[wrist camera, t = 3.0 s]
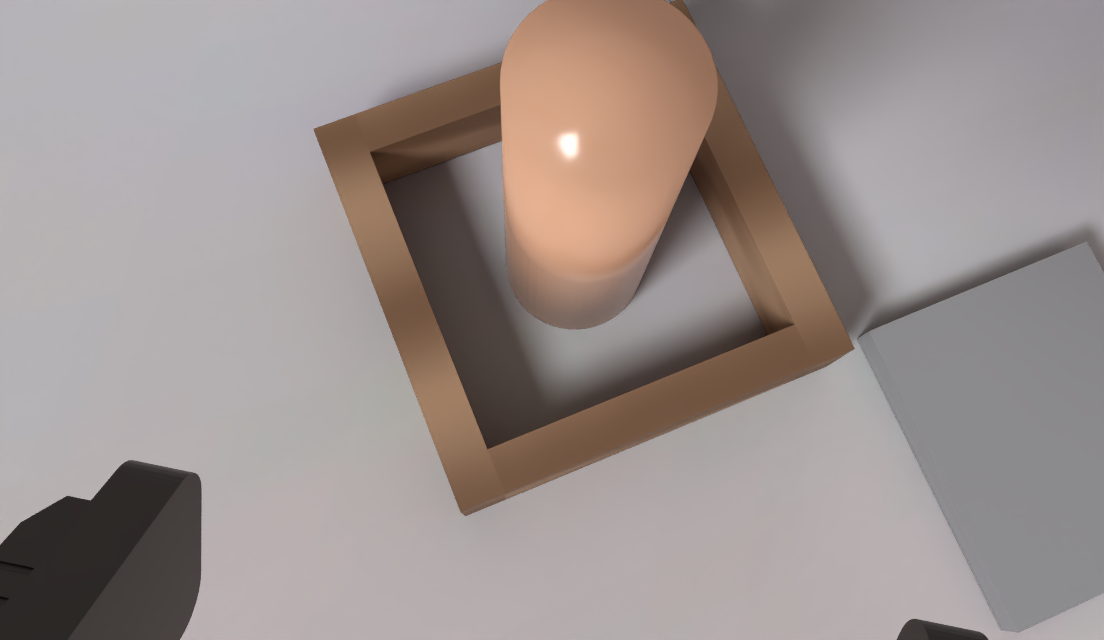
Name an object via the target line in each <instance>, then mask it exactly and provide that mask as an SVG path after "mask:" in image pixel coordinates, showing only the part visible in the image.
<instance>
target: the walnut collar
mask: <svg viewBox="0 0 1104 640" xmlns="http://www.w3.org/2000/svg"><path fill="white" fill-rule="evenodd" d="M670 4H671V5H672V6H674V7H675V8H677V9H678V10H679V11H681V12H682V13H683V14H684V15H685V16H686V17H687V18H688V19H689V20H690V21H691V22H692V23H693V24H694V22H693V19H692V17H691V15H690V13H689V11H688V9H687V7H686V5H685V3H684V1H683V0H676V1H673V2H671V3H670ZM694 26H695V24H694ZM695 27H696V26H695ZM501 66H502V62H501V63H498V64H496V65H493V66H490V67H487V68H484V69H481V70H479V71H476V72H473V73H470V74H467V75H465V76H462V77H459V78H456V79H453V80H450V81H448V82H445V83H442V84H439V85H436V86H433V87H431V88H428V89H425V90H422V91H419V92H417V93H414V94H411V95H408V96H405V97H402V98H400V99H397V100H394V101H391V102H388V103H385V104H383V105H380V106H377V107H374V108H371V109H369V110H366V111H363V112H360V113H357V114H354V115H352V116H349V117H346V118H343V119H340V120H337V121H335V122H332V123H329V124H326V125H323V126H321V127H318V128H315V129H314V132H315V134H316V137H317V140H318V142H319V145H320V147H321V150H322V153H323V155H324V158H325V160H326V163H327V166H328V168H329V171H330V173H331V176H332V179H333V181H334V184H335V186H336V189H337V192H338V194H339V197H340V199H341V202H342V205H343V207H344V210H345V212H346V215H347V218H348V220H349V223H350V225H351V228H352V231H353V233H354V236H355V238H356V241H357V244H358V246H359V249H360V251H361V254H362V257H363V259H364V262H365V264H366V267H367V270H368V272H369V275H370V277H371V280H372V283H373V285H374V288H375V290H376V293H377V296H378V298H379V301H380V303H381V306H382V309H383V311H384V314H385V316H386V319H387V322H388V324H389V327H390V329H391V332H392V335H393V337H394V340H395V342H396V345H397V348H398V350H399V353H400V355H401V358H402V361H403V363H404V366H405V368H406V371H407V374H408V376H409V379H410V381H411V384H412V387H413V389H414V392H415V394H416V397H417V400H418V402H419V405H420V407H421V410H422V413H423V415H424V418H425V421H426V423H427V426H428V428H429V431H430V434H431V436H432V439H433V441H434V444H435V447H436V449H437V452H438V454H439V457H440V460H441V462H442V465H443V467H444V470H445V473H446V475H447V478H448V480H449V483H450V486H451V488H452V491H453V493H454V496H455V499H456V501H457V504H458V506H459V509H460V512H461V513H462V514H464V515H465V516H467V515H469V514H472V513H474V512H476V511H479V510H481V509H484V508H486V507H488V506H491V505H493V504H496V503H498V502H501V501H503V500H505V499H508V498H510V497H513V496H515V495H517V494H520V493H522V492H525V491H527V490H529V489H532V488H534V487H537V486H539V485H542V484H544V483H546V482H549V481H551V480H554V479H556V478H558V477H561V476H563V475H566V474H568V473H570V472H573V471H575V470H578V469H580V468H583V467H585V466H587V465H590V464H592V463H595V462H597V461H599V460H602V459H604V458H607V457H609V456H611V455H614V454H616V453H619V452H621V451H624V450H626V449H628V448H631V447H633V446H636V445H638V444H640V443H643V442H645V441H648V440H650V439H652V438H655V437H657V436H660V435H662V434H665V433H667V432H669V431H672V430H674V429H677V428H679V427H681V426H684V425H686V424H689V423H691V422H693V421H696V420H698V419H701V418H703V417H706V416H708V415H710V414H713V413H715V412H718V411H720V410H722V409H725V408H727V407H730V406H732V405H734V404H737V403H739V402H742V401H744V400H747V399H749V398H751V397H754V396H756V395H759V394H761V393H763V392H766V391H768V390H771V389H773V388H775V387H778V386H780V385H783V384H785V383H788V382H790V381H792V380H795V379H797V378H800V377H802V376H804V375H807V374H809V373H812V372H814V371H817V370H819V369H821V368H824V367H826V366H828V365H830V364H831V363H833V362H834V361H836V360H837V359H839V358H841V357H842V356H844V355H845V354H847V353H849V352H850V351H852V350H853V349H855V348H854V346H853V344H852V342H851V340H850V338H849V336H848V334H847V332H846V330H845V328H844V326H843V324H842V322H841V320H840V318H839V316H838V314H837V312H836V310H835V308H834V306H833V304H832V302H831V300H830V298H829V296H828V293H827V291H826V289H825V287H824V285H823V283H822V281H821V279H820V277H819V275H818V273H817V271H816V269H815V267H814V265H813V263H812V261H811V259H810V257H809V255H808V253H807V251H806V249H805V247H804V245H803V243H802V241H801V239H800V237H799V235H798V233H797V231H796V229H795V227H794V224H793V222H792V220H791V218H790V216H789V214H788V212H787V210H786V208H785V206H784V204H783V202H782V200H781V198H780V196H779V194H778V192H777V190H776V188H775V186H774V184H773V182H772V180H771V178H770V176H769V174H768V172H767V170H766V168H765V166H764V164H763V162H762V160H761V158H760V155H759V153H758V151H757V149H756V147H755V145H754V143H753V141H752V139H751V137H750V135H749V133H748V131H747V129H746V127H745V125H744V123H743V121H742V119H741V117H740V115H739V113H738V111H737V109H736V107H735V105H734V103H733V101H732V99H731V97H730V95H729V93H728V91H727V89H726V86H725V84H724V82H723V80H722V78H721V76H720V74H719V72H718V70H717V68H716V73H717V82H718V94H717V102H716V107H715V111H714V115H713V118H712V120H711V123H710V125H709V127H708V129H707V132H706V134H705V136H704V138H703V141H702V143H701V145H700V148H699V150H698V152H697V154H696V157H695V159H694V161H693V163H692V166H691V168H690V172H691V174H692V176H693V178H694V181H695V183H696V185H697V187H698V189H699V191H700V193H701V195H702V197H703V200H704V202H705V204H706V206H707V208H708V210H709V212H710V214H711V216H712V219H713V221H714V223H715V225H716V227H717V229H718V231H719V233H720V235H721V238H722V240H723V242H724V244H725V246H726V248H727V250H728V252H729V254H730V257H731V259H732V261H733V263H734V265H735V267H736V269H737V271H738V273H739V276H740V278H741V280H742V282H743V284H744V286H745V288H746V290H747V292H748V295H749V297H750V299H751V301H752V303H753V305H754V307H755V309H756V311H757V314H758V316H759V318H760V320H761V322H762V324H763V326H764V328H765V330H766V333H767V336H765V337H762V338H760V339H758V340H755V341H753V342H750V343H748V344H745V345H743V346H740V347H738V348H735V349H733V350H731V351H728V352H726V353H723V354H721V355H718V356H716V357H713V358H711V359H708V360H706V361H703V362H701V363H699V364H696V365H694V366H691V367H689V368H686V369H684V370H681V371H679V372H676V373H674V374H672V375H669V376H667V377H664V378H662V379H659V380H657V381H654V382H652V383H649V384H647V385H644V386H642V387H640V388H637V389H635V390H632V391H630V392H627V393H625V394H622V395H620V396H617V397H615V398H613V399H610V400H608V401H605V402H603V403H600V404H598V405H595V406H593V407H590V408H588V409H585V410H583V411H581V412H578V413H576V414H573V415H571V416H568V417H566V418H563V419H561V420H558V421H556V422H553V423H551V424H549V425H546V426H544V427H541V428H539V429H536V430H534V431H531V432H529V433H526V434H524V435H522V436H519V437H517V438H514V439H512V440H509V441H507V442H504V443H502V444H499V445H497V446H494V447H492V448H490V449H487V447H486V444H485V442H484V439H483V437H482V434H481V432H480V429H479V427H478V424H477V422H476V419H475V417H474V414H473V412H472V409H471V406H470V404H469V401H468V399H467V396H466V394H465V391H464V389H463V386H462V384H461V381H460V379H459V376H458V374H457V371H456V369H455V366H454V364H453V361H452V359H451V356H450V353H449V351H448V348H447V346H446V343H445V341H444V338H443V336H442V333H441V331H440V328H439V326H438V323H437V321H436V318H435V316H434V313H433V311H432V308H431V306H430V303H429V300H428V298H427V295H426V293H425V290H424V288H423V285H422V283H421V280H420V278H419V275H418V273H417V270H416V268H415V265H414V263H413V260H412V258H411V255H410V253H409V250H408V247H407V245H406V242H405V240H404V237H403V235H402V232H401V230H400V227H399V225H398V222H397V220H396V217H395V215H394V212H393V210H392V207H391V205H390V202H389V200H388V197H387V194H386V192H385V189H384V187H383V184H384V183H387V182H390V181H393V180H395V179H398V178H401V177H404V176H406V175H409V174H412V173H415V172H417V171H420V170H423V169H426V168H428V167H431V166H434V165H436V164H439V163H442V162H445V161H447V160H450V159H453V158H456V157H458V156H461V155H464V154H467V153H469V152H472V151H475V150H478V149H480V148H483V147H486V146H489V145H491V144H494V143H497V142H499V141H502V127H501V97H500V73H501ZM715 67H716V66H715Z"/></svg>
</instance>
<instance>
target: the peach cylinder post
mask: <svg viewBox="0 0 1104 640" xmlns="http://www.w3.org/2000/svg"><path fill="white" fill-rule="evenodd" d="M717 94H718V82H717V73H716V67H715V64H714V60H713V57H712V54H711V52H710V50H709V47H708V45H707V43H706V41H705V40H704V38H703V37H702V35H701V33H700V32H699V30H698V29H697V28H696V27H695V26H694V24H693V23H692V22H691V21H690V20H689V19H688V18H687V17H686V16H685V15H684V14H683V13H682V12H681V11H679V10H678V9H677V8H675V7H674V6H672V5H671V4H670V3H668V2H666V1H664V0H547V1H546V2H544V3H543V4H541V5H539V6H538V7H537V8H536V9H535V10H533V11H532V12H531V13H530V14H529V15H528V16H527V17H526V18H525V19H524V20H523V21H522V22H521V23H520V25H519V26H518V28H517V29H516V31H515V32H514V34H513V35H512V37H511V39H510V41H509V43H508V45H507V48H506V51H505V54H504V57H503V61H502V66H501V73H500V97H501V127H502V157H503V187H504V217H505V248H506V269H507V276H508V280H509V284H510V286H511V289H512V291H513V293H514V295H515V296H516V298H517V300H518V301H519V302H520V304H521V305H522V306H523V307H524V308H525V309H526V310H527V311H528V312H529V313H530V314H532V315H533V316H534V317H536V318H537V319H539V320H541V321H542V322H545V323H547V324H549V325H552V326H555V327H559V328H565V329H586V328H591V327H595V326H598V325H600V324H603V323H605V322H607V321H609V320H611V319H612V318H614V317H615V316H616V315H618V314H619V313H620V312H621V311H622V310H623V309H624V308H625V307H626V306H627V305H628V304H629V302H630V301H631V299H632V298H633V296H634V294H635V292H636V290H637V288H638V285H639V283H640V281H641V279H642V276H643V274H644V272H645V270H646V267H647V265H648V263H649V261H650V258H651V256H652V254H653V252H654V249H655V247H656V245H657V242H658V240H659V238H660V236H661V233H662V231H663V229H664V227H665V224H666V222H667V220H668V218H669V215H670V213H671V211H672V209H673V206H674V204H675V202H676V200H677V197H678V195H679V193H680V190H681V188H682V186H683V184H684V181H685V179H686V177H687V175H688V172H689V170H690V168H691V166H692V163H693V161H694V159H695V157H696V154H697V152H698V150H699V148H700V145H701V143H702V141H703V138H704V136H705V134H706V132H707V129H708V127H709V125H710V123H711V120H712V118H713V115H714V111H715V107H716V102H717Z"/></svg>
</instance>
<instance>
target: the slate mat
mask: <svg viewBox="0 0 1104 640" xmlns="http://www.w3.org/2000/svg"><path fill="white" fill-rule="evenodd" d="M857 339H858V341H859V343H860V345H861V347H862V349H863V351H864V353H865V355H866V357H867V360H868V362H869V364H870V366H871V368H872V370H873V372H874V374H875V376H876V378H877V380H878V382H879V384H880V386H881V388H882V390H883V392H884V394H885V396H886V398H887V400H888V402H889V404H890V406H891V408H892V410H893V412H894V414H895V416H896V418H897V420H898V422H899V424H900V426H901V428H902V430H903V432H904V434H905V436H906V438H907V440H908V442H909V444H910V446H911V449H912V451H913V453H914V455H915V457H916V459H917V461H918V463H919V465H920V467H921V469H922V471H923V473H924V475H925V477H926V479H927V481H928V483H929V485H930V487H931V489H932V491H933V493H934V495H935V497H936V499H937V501H938V503H939V505H940V507H941V509H942V511H943V513H944V515H945V517H946V519H947V521H948V523H949V525H950V527H951V529H952V531H953V533H954V535H955V537H956V540H957V542H958V544H959V546H960V548H961V550H962V552H963V554H964V556H965V558H966V560H967V562H968V564H969V566H970V568H971V570H972V572H973V574H974V576H975V578H976V580H977V582H978V584H979V586H980V588H981V590H982V592H983V594H984V596H985V598H986V600H987V602H988V604H989V606H990V608H991V610H992V612H993V614H994V616H995V618H996V620H997V622H998V624H999V626H1000V628H1001V630H1005V631H1012V632H1021V631H1023V630H1025V629H1027V628H1029V627H1032V626H1034V625H1036V624H1038V623H1040V622H1042V621H1044V620H1047V619H1049V618H1051V617H1053V616H1055V615H1057V614H1060V613H1062V612H1064V611H1066V610H1068V609H1070V608H1072V607H1075V606H1077V605H1079V604H1081V603H1083V602H1085V601H1087V600H1090V599H1092V598H1094V597H1096V596H1098V595H1100V594H1102V593H1104V271H1103V269H1102V268H1101V266H1100V264H1099V262H1098V261H1097V259H1096V257H1095V255H1094V253H1093V252H1092V250H1091V248H1090V246H1089V245H1088V243H1087V241H1086V242H1084V243H1081V244H1079V245H1076V246H1074V247H1072V248H1069V249H1067V250H1064V251H1062V252H1060V253H1057V254H1055V255H1052V256H1050V257H1047V258H1045V259H1043V260H1040V261H1038V262H1035V263H1033V264H1030V265H1028V266H1026V267H1023V268H1021V269H1018V270H1016V271H1013V272H1011V273H1009V274H1006V275H1004V276H1001V277H999V278H996V279H994V280H992V281H989V282H987V283H984V284H982V285H979V286H977V287H975V288H972V289H970V290H967V291H965V292H962V293H960V294H958V295H955V296H953V297H950V298H948V299H945V300H943V301H941V302H938V303H936V304H933V305H931V306H928V307H926V308H924V309H921V310H919V311H916V312H914V313H911V314H909V315H907V316H904V317H902V318H899V319H897V320H894V321H892V322H890V323H887V324H885V325H882V326H880V327H877V328H875V329H873V330H870V331H868V332H867V333H865V334H864V335H862V336H860V337H859V338H857Z"/></svg>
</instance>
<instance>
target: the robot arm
mask: <svg viewBox="0 0 1104 640" xmlns="http://www.w3.org/2000/svg"><path fill="white" fill-rule="evenodd" d="M200 580H201V481H200V478H199V476H198V475H197V474H196V473H192V472H187V471H182V470H177V469H173V468H168V467H163V466H158V465H153V464H148V463H143V462H139V461H134V460H129V461H127V462H125V463H123V464H122V465H121V466H120V467H119V468H118V469H117V470H116V471H115V473H114V474H113V475H112V476H111V477H110V479H109V480H108V481H107V482H106V483H105V485H104V486H103V487H102V488H101V489H100V491H99V492H98V493H97V494H96V495H95V496H94V498H93V499H92V500H91V501H90V500H85V499H80V498H75V497H70V496H66V497H64V498H63V499H61V500H59V501H57V502H56V503H54V504H52V505H50V506H49V507H47V508H45V509H43V510H42V511H40V512H38V513H36V514H35V515H33V516H31V517H30V518H28V519H26V520H24V521H23V522H21V523H20V524H19V525H18V526H17V527H16V528H15V529H14V530H13V532H12V533H11V534H10V535H9V536H8V537H7V538H6V539H5V540H4V541H3V543H2V544H1V545H0V640H180V638H181V637H182V635H183V633H184V631H185V629H186V627H187V625H188V623H189V621H190V618H191V616H192V613H193V610H194V607H195V604H196V600H197V596H198V592H199V587H200ZM897 640H988V639H987V637H986V636H985V635H984V634H983V633H980V632H977V631H972V630H967V629H962V628H958V627H953V626H948V625H943V624H938V623H933V622H928V621H923V620H919V619H911V620H909V621H908V622H907V623H906V624H905V625H904V627H903V628H902V630H901V632H900V634H899V636H898V638H897Z"/></svg>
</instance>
